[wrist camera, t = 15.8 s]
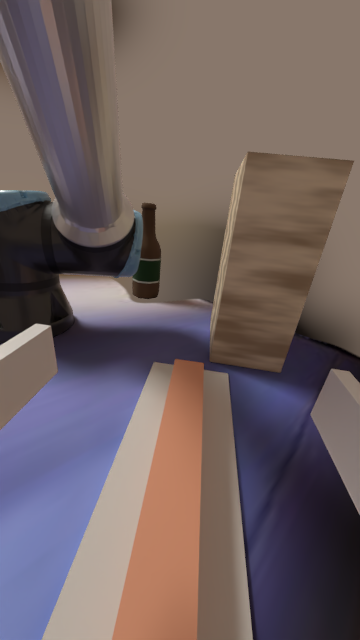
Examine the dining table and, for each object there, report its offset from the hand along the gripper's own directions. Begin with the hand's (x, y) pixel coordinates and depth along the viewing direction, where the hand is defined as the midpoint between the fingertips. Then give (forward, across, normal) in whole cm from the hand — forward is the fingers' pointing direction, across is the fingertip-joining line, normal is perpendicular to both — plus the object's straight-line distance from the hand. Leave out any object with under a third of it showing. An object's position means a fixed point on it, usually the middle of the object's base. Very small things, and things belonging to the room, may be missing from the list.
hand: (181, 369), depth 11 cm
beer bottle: (+54, -16, -16) cm, 59 cm away
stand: (+34, +9, -16) cm, 39 cm away
